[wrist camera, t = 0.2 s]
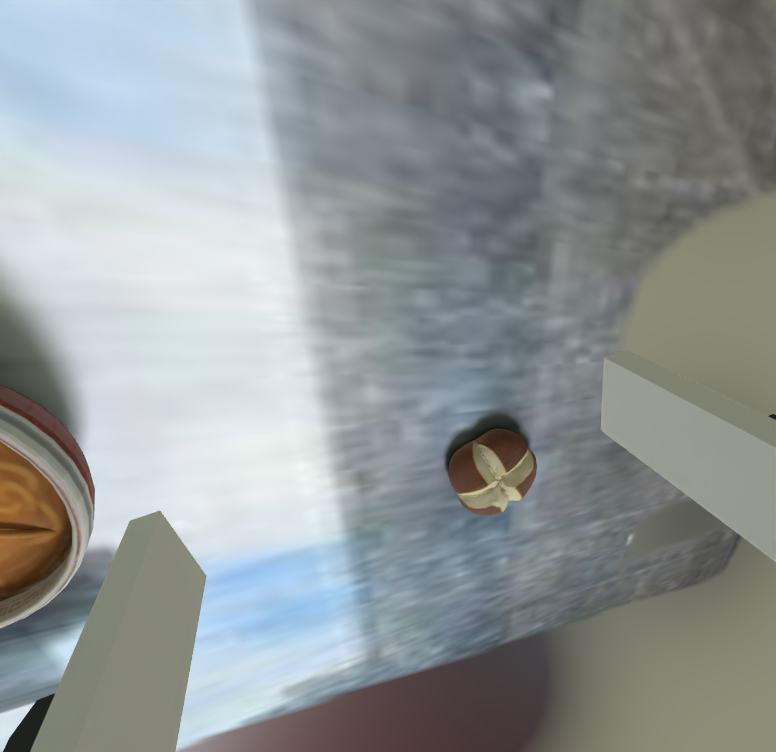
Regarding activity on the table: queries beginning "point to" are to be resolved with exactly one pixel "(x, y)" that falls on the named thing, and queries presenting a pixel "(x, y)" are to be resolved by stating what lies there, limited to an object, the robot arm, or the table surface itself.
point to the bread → (492, 471)
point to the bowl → (39, 506)
